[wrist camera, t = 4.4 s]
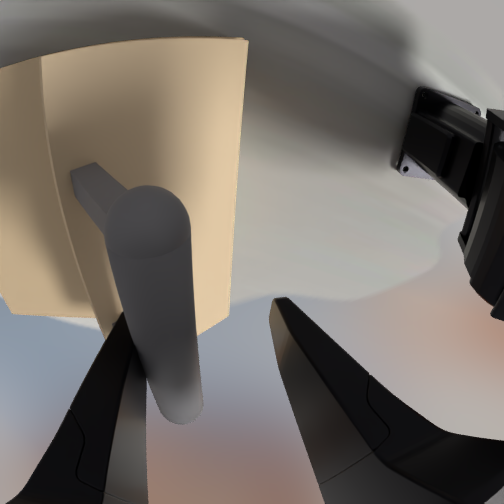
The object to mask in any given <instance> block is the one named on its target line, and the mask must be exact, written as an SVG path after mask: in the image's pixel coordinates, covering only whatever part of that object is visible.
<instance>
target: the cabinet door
mask: <svg viewBox="0 0 504 504" xmlns="http://www.w3.org/2000/svg"><path fill="white" fill-rule="evenodd" d="M248 42H249V40H234V39H209V38H181V39H156V40H141V41H130V42H121V43H112V44H105V45H98V46H92V47H86V48H80V49H75V50H70V51H65V52H60V53H55V54H51V55H47V56H43V57H40V58H39V70H40V86H41V98H42V108H43V117H44V125H45V132H46V139H47V146H48V152H49V157H50V163H51V168H52V173H53V178H54V183H55V188H56V192H57V196H58V201H59V205H60V209H61V213H62V217H63V220H64V224H65V228H66V231H67V235H68V238H69V242H70V245H71V249H72V252H73V255H74V258H75V261H76V264H77V267H78V270H79V273H80V276H81V279H82V282H83V285H84V288H85V290H86V293H87V296H88V298H89V301H90V304H91V306H92V309H93V311H94V314H95V316H96V319H97V321H98V324H99V326H100V329H101V331H102V333H103V335H104V338H105V340H106V338H107V337H108V335H109V333H110V331H111V330H112V328H113V326H114V325H115V323H116V321H117V319H118V318H119V316H120V314H121V313H122V311H123V312H124V315H125V318H126V321H127V324H128V328H129V331H130V334H131V337H132V339H133V342H134V344H135V347H136V350H137V353H138V356H139V359H140V361H141V364H142V367H143V369H144V372H145V375H146V378H147V381H148V383H149V386H150V388H151V390H152V393H153V395H154V398H155V400H156V403H157V405H158V407H159V410H160V412H161V413H162V415H163V416H164V417H165V418H166V419H167V420H169V421H171V422H173V423H175V424H188V423H191V422H193V421H194V420H196V419H197V418H198V417H199V416H200V414H201V412H202V409H203V395H202V386H201V377H200V366H199V354H198V343H197V336H198V335H199V334H201V333H202V332H204V331H206V330H207V329H209V328H210V327H212V326H214V325H215V324H217V323H218V322H220V321H221V320H223V319H225V318H226V317H228V316H229V305H230V286H231V269H232V252H233V236H234V220H235V205H236V190H237V176H238V162H239V149H240V136H241V123H242V111H243V99H244V87H245V75H246V64H247V53H248Z"/></svg>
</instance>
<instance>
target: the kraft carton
mask: <svg viewBox="0 0 504 504" xmlns="http://www.w3.org/2000/svg"><path fill="white" fill-rule="evenodd" d="M181 38H209V39H234V40H244V38H239V37H215V36H184V37H160V38H146V39H135V40H125V41H117V42H109V43H103V44H96V45H90V46H85V47H79V48H74V49H69V50H65V51H70V50H75V49H80V48H86V47H92V46H98V45H105V44H112V43H121V42H130V41H141V40H156V39H181ZM65 51H60V52H65ZM60 52H56V53H60ZM51 54H55V53H51ZM51 54H47V55H51ZM47 55H43V56H47ZM43 56H39V57H35V58H32V59H28V60H25V61H21V62H18V63H15V64H12V65H9V66H6V67H3V68H0V293H1V294H2V296H3V298H4V300H5V302H6V304H7V305H8V307H9V309H10V310H11V312H12V314H22V315H38V316H57V317H84V318H96V316H95V314H94V311H93V309H92V306H91V304H90V301H89V298H88V296H87V293H86V290H85V288H84V285H83V282H82V279H81V276H80V273H79V270H78V267H77V264H76V261H75V258H74V255H73V252H72V249H71V245H70V242H69V238H68V235H67V231H66V228H65V224H64V220H63V217H62V213H61V209H60V205H59V201H58V196H57V192H56V188H55V183H54V178H53V173H52V168H51V163H50V157H49V152H48V146H47V139H46V132H45V125H44V117H43V108H42V98H41V86H40V70H39V58H40V57H43Z"/></svg>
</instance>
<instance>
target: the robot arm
mask: <svg viewBox="0 0 504 504" xmlns="http://www.w3.org/2000/svg"><path fill="white" fill-rule="evenodd" d="M423 92H425V95H424V96H423V97H422V94H423ZM480 116H481V111H480V109H479V108H477V107H475V106H473V105H470V104H468V103H466V102H463V101H461V100H458V99H456V98H453V97H450V96H448V95H445V94H442V93H440V92H437V91H434V90H431V89H428V88H425V87H419V88H418V89H417V91H416V94H415V99H414V103H413V108H412V112H411V116H410V120H409V124H408V128H407V132H406V136H405V139H404V143H403V147H402V151H401V155H400V158H399V162H398V165H397V171H398V172H399V173H400V174H401V175H403V176H410V177H418V178H425V179H432V180H436V181H437V182H438V183H439V184H440V185H441V186H443V187H444V188H445V189H446V190H447V191H448V192H449V193H450V194H452V195H453V196H454V197H455V198H456V199H457V200H458V201H459V202H460V203H461V204H463V205H464V206H465V207H466V208H467V209H468V212H467V215H466V219H465V222H464V226H463V229H462V231H461V232H460V234H459V237H458V242H459V244H460V247H461V249H462V252H463V254H464V264H465V266H466V268H467V271H468V273H469V275H470V277H471V279H470V285H471V286H472V287H473V288H474V290H475V291H476V292H477V294H478V295H479V296H480V297H481V298H483V299H484V300H485V301H486V302H487V303H488V304H490V305H491V306H493V307H494V308H493V309H492V311H491V313H490V314H491V316H492V317H493V318H496V319H499V320H502V321H504V111H502V110H496V109H489V108H487V113H486V118H487V120H486V119H484V118H482V117H480ZM405 166H406V167H405ZM404 167H405V169H404V170H403V168H404ZM269 323H270V328H271V334H272V339H273V344H274V349H275V354H276V359H277V363H278V368H279V371H280V375H281V378H282V381H283V383H284V386H285V389H286V392H287V395H288V398H289V401H290V404H291V407H292V410H293V413H294V416H295V418H296V422H297V424H298V427H299V430H300V433H301V436H302V439H303V442H304V445H305V447H306V450H307V453H308V456H309V459H310V462H311V465H312V468H313V470H314V473H315V476H316V479H317V482H318V484H319V488H320V491H321V494H322V496H323V499H324V502H325V504H504V441H501V440H494V439H486V438H479V437H472V436H466V435H460V434H455V433H451V432H448V431H445V430H443V429H441V428H439V427H437V426H436V425H434V424H433V423H431V422H430V421H428V420H427V419H426V418H424V417H423V416H422V415H420V414H419V413H417V412H416V411H415V410H413V409H412V408H410V407H409V406H408V405H406V404H405V403H404V402H402V401H401V400H400V399H399V398H397V397H396V396H395V395H393V394H392V393H391V392H390V391H389V390H388V389H386V388H385V387H384V386H383V385H382V384H380V383H379V382H378V381H377V380H376V379H375V378H374V377H373V376H372V375H369V372H367V371H366V370H365V369H364V368H363V367H362V366H361V365H360V364H359V363H357V361H356V360H354V359H353V358H352V357H351V356H350V355H349V354H348V353H347V352H346V351H345V350H344V349H342V348H341V347H340V346H339V345H338V344H337V343H336V342H335V341H334V340H333V339H332V338H330V336H329V335H328V334H326V333H325V332H324V331H323V330H322V329H321V328H320V327H319V326H318V325H317V324H316V323H315V322H314V321H313V320H311V319H310V318H309V317H308V316H307V315H306V314H305V313H304V312H303V311H302V310H301V309H300V308H299V307H297V306H296V305H295V304H294V303H293V302H292V301H291V300H290V299H289V298H287V297H280V298H274V299H273V301H272V305H271V310H270V316H269ZM146 381H147V380H146V375H145V372H144V369H143V367H142V364H141V361H140V359H139V356H138V353H137V350H136V347H135V344H134V342H133V339H132V337H131V334H130V331H129V328H128V324H127V321H126V318H125V315H124V312H123V311H122V313H121V314H120V316H119V318H118V319H117V321H116V323H115V325H114V326H113V328H112V330H111V331H110V333H109V335H108V337H107V338H106V340H105V342H104V344H103V345H102V347H101V349H100V351H99V353H98V354H97V356H96V358H95V360H94V362H93V364H92V365H91V367H90V369H89V371H88V373H87V375H86V377H85V378H84V381H83V382H82V384H81V386H80V388H79V390H78V392H77V394H76V396H75V398H74V400H73V402H72V404H71V406H70V409H71V410H70V409H69V410H68V412H67V413H66V415H65V418H64V420H63V422H62V424H61V426H60V427H59V430H58V432H57V433H56V435H55V437H54V439H53V440H52V442H51V444H50V446H49V447H48V449H47V451H46V452H45V454H44V455H43V457H42V459H41V460H40V462H39V464H38V465H37V467H36V469H35V470H34V472H33V474H32V475H31V477H30V479H29V481H28V482H27V484H26V485H25V487H24V488H23V489H22V491H20V493H19V494H18V495H16V496H15V497H14V498H13V499H12V500H10V501H9V502H7V503H6V504H148V490H147V465H146V390H147V382H146Z"/></svg>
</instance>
